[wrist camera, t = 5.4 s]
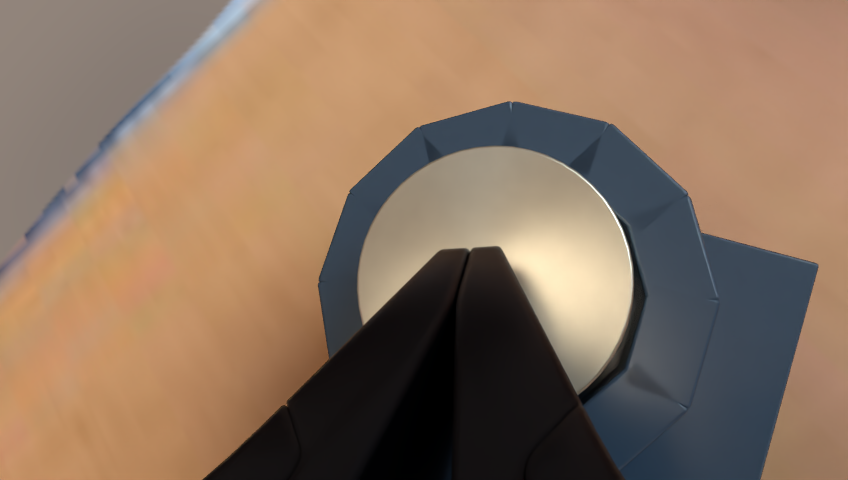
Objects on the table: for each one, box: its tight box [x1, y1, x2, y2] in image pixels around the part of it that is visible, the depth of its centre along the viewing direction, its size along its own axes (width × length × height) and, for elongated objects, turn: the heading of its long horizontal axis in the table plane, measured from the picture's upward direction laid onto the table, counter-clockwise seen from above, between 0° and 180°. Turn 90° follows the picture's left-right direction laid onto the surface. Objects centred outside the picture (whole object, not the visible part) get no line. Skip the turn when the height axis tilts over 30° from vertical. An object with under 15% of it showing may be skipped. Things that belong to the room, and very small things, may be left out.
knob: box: [357, 146, 634, 395], centre depth 11 cm, size 4×4×2 cm
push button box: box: [318, 102, 818, 480], centre depth 14 cm, size 11×9×6 cm
